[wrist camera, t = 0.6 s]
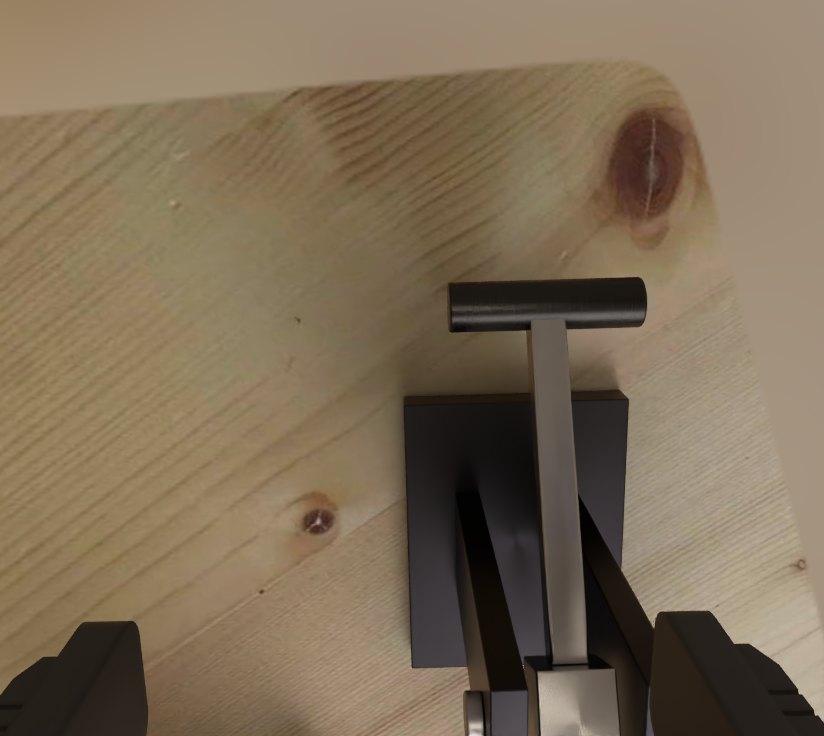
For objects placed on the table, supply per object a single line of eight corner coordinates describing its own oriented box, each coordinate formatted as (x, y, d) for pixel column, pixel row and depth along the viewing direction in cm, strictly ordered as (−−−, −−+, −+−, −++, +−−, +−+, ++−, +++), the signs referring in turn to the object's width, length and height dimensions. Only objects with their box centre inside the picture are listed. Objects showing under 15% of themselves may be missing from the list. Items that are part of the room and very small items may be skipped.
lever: (445, 294, 26) (449, 271, 23) (627, 288, 26) (649, 266, 23) (464, 757, 23) (470, 785, 21) (666, 750, 23) (696, 777, 21)
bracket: (403, 396, 32) (407, 557, 19) (620, 389, 32) (777, 545, 19) (411, 650, 35) (419, 947, 22) (609, 644, 35) (739, 935, 22)
